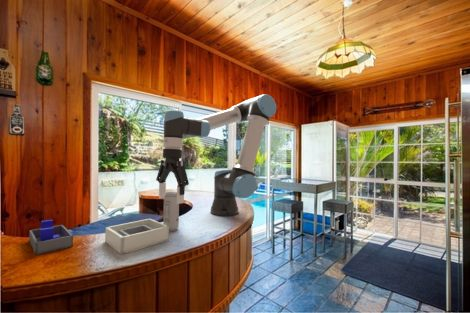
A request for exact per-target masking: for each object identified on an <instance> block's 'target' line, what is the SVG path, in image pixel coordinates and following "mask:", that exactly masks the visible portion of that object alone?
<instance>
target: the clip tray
mask: <svg viewBox="0 0 470 313" xmlns="http://www.w3.org/2000/svg"><path fill="white" fill-rule="evenodd" d="M28 233H29V235H28V236H29V238H28V241H29V243H30V245H31V248H32V251H33V253H34V255H35V256H37V255H43V254H46V253H50V252H54V251H59V250H64V249H67V248H72V247H73V246H74V235H73V234H72V233H71V232H70V231H69V230H68V229H67V228H66V227H65V226H64V225H63V224H59V225H54V226H53V235H59V238H56V239H51V240H46V241H41V242H40V236H41V227H40V228H35V229H31V230H29V232H28Z"/></svg>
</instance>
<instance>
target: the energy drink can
mask: <svg viewBox="0 0 470 313" xmlns="http://www.w3.org/2000/svg"><path fill="white" fill-rule="evenodd" d="M179 217H180V204H177V191H169V192H168V191H167V192H166V194H165V196H164V198H163V223H162V224H165V225H167V226H169V233H170V232H176V231H177V230H178V228H179V222H180V220H179V219H180V218H179Z"/></svg>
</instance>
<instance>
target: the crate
mask: <svg viewBox="0 0 470 313" xmlns="http://www.w3.org/2000/svg"><path fill="white" fill-rule="evenodd" d="M104 236H105V237H104V241H105V243H106V244H107V245H109V247H111V248H112V249H113V250H114V251H116V252H117V253H119V254H120V255H124V254H128V253H131V252H135V251H138V250H141V249H145V248H148V247H152V246H156V245H159V244H162V243H165V242H169V240H170V232H169V226H167V225H165V224H163V223H162V222H160V221H157V220H154V219H153V218H145V219H140V220H137V221H136V220H135V221H131V222H126V223H120V224H115V225H111V226H105V234H104Z"/></svg>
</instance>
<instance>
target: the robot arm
mask: <svg viewBox="0 0 470 313" xmlns="http://www.w3.org/2000/svg"><path fill="white" fill-rule="evenodd" d="M276 112H277V103H276V101H275V99H274V98H273V96H271V95H269V94H260V95H258V96H255V97H252V98H249V99H246V100H244V101H242V102H240V103H238V104H236V105H232V106H231V107H230V108H228V109H226V110H222V111H219V112H215V113H213V114H208V115H205V116H203V117H198V118H189V117H185V115H184V112H183V111H180V110H177V109H168V110H166V111H165V113H164V118H163V139H162V140H163V141H162V142H163V150H162V158H163V159H161V160H160V165H159V170H158V172H157V175H156V179H155V180H156V182H158V199H164V196H165V194H166V190H167V187H166V186H167V178H168V177H169V175H170V173H173V176H174V178H175V179H176V182H177V184H178V185H177V188H176V192H177V204H179V205H180V204H184V202H185V191H186V190H185V188H186V186H189V184H190V182H189V179H188V174H187V171H186V167H185V160H180V159H182V157H183V150H182V148H183V140H185V139H189V138H207V137H208V136H209V135H210V133H211V131H212V130H216V129H217V128H221V127H225V126H226V125H227V126H228V125H230V124H233V123H236V124H238V123H239V124H240V123H241V122H248V123H247V125H246V126H247V127H246V129H245V133H244V137H243V140H242V145H241V148H240V151H239V155H238V158H237V161H236V164H235V165H234V166H232V169H219V170H216V171H214V177H213V179H214V183H213V184H214V185H213V187H214V188H213V191H214V192H213V201H212V203H211V204H212V205H211V206H210V214H212V215H215V216H220V215H222V217H227V216H226V215H230V216H234V215H233V214H235V215H237V214H236V213H238V214H239V206H238V203H237V199H236V198H239V199H241V198H242V199H247V198H249V197H251V196H253V194H255V192H256V189H257V187H258V181H257V179H256V177H255V174H256V173H255V171H254V167H255V163H256V159H257V156H258V152H259V147H260V144H261V140H262V138H263V137H262V136H263V133H264V129H265V126H266V125H268V124H269V121H270V118H271V117H273V116H275V114H276Z"/></svg>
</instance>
